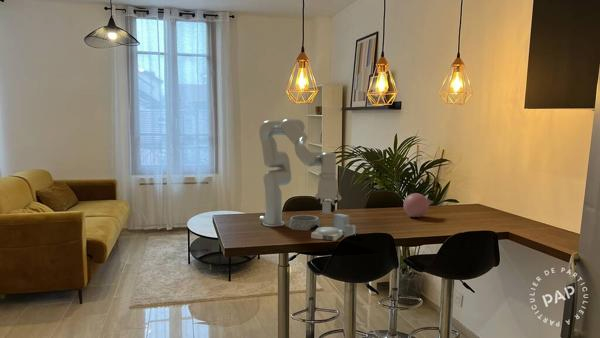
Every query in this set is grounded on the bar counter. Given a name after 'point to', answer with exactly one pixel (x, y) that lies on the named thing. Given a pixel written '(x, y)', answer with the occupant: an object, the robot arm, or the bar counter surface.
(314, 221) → the dog bowl
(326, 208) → the grey block with knob
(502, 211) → the bar counter surface
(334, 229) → the scale
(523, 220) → the bar counter surface
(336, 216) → the medicine box
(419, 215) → the piggy bank
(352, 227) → the spacer
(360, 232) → the bar counter surface
